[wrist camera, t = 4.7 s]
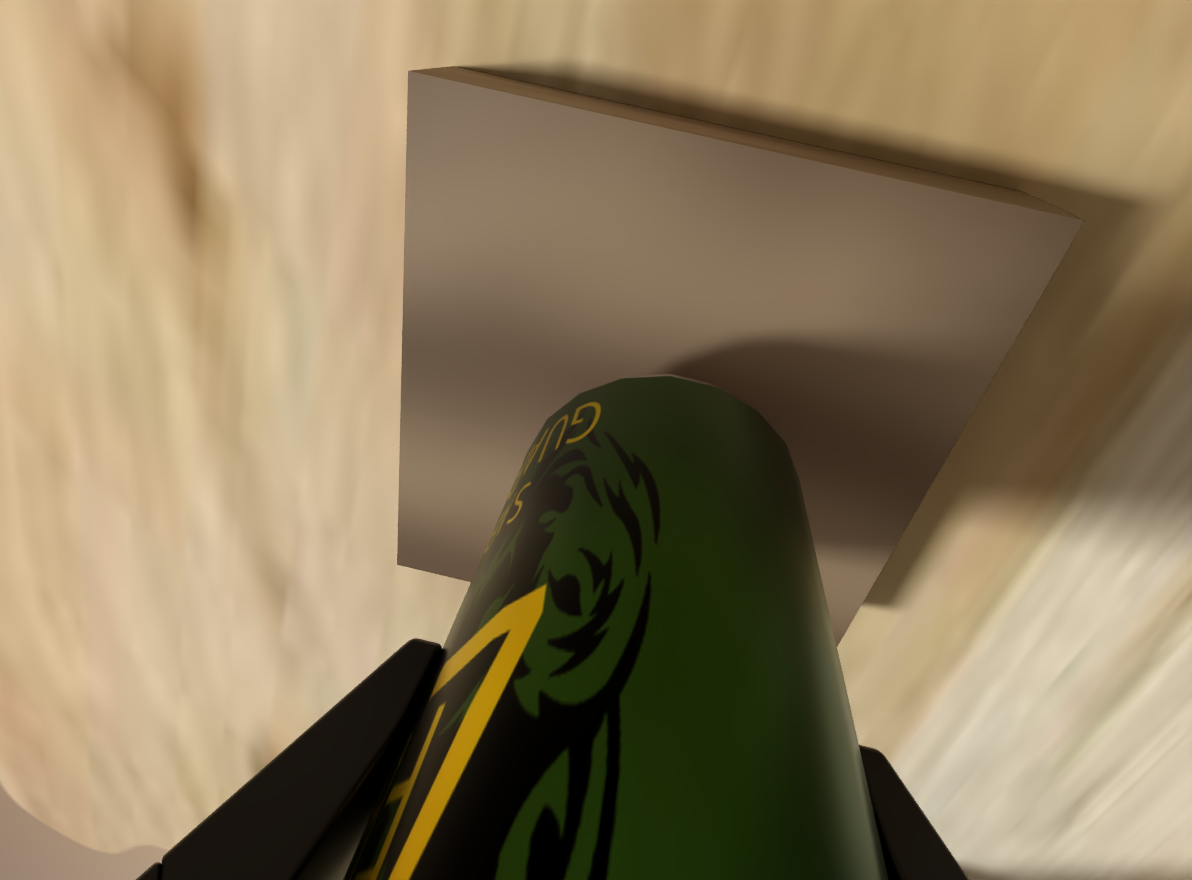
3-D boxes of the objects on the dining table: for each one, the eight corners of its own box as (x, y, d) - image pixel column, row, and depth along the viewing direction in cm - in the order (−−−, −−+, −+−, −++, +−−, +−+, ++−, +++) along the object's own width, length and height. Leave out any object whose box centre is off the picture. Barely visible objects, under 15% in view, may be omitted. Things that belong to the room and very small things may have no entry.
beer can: (849, 422, 12) (1632, 2424, 2) (721, 608, 15) (762, 1810, 5) (579, 313, 12) (-221, 2073, 2) (501, 525, 15) (34, 1637, 4)
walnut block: (812, 599, 20) (825, 666, 18) (429, 509, 20) (397, 564, 18) (1023, 191, 13) (1084, 220, 11) (454, 66, 14) (408, 71, 11)
